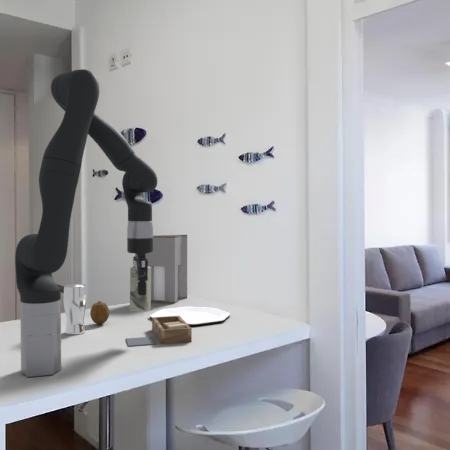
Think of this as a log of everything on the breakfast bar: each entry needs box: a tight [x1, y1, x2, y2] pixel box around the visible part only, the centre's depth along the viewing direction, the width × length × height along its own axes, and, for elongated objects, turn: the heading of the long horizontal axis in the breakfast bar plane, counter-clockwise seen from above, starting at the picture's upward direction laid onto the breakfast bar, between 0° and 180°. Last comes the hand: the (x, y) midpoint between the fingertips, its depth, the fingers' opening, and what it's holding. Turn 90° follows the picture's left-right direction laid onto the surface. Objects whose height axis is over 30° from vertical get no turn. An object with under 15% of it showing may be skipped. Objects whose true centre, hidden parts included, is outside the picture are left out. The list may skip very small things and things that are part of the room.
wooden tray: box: [151, 316, 193, 345], centre depth 154 cm, size 18×9×4 cm, turn 17°
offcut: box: [163, 321, 185, 329], centre depth 150 cm, size 5×5×2 cm
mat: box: [125, 336, 157, 347], centre depth 146 cm, size 8×8×1 cm
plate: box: [149, 306, 231, 326], centre depth 179 cm, size 28×28×2 cm
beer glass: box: [63, 283, 87, 336], centre depth 157 cm, size 7×7×15 cm
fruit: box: [90, 300, 110, 326], centre depth 168 cm, size 6×6×8 cm
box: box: [129, 266, 152, 313], centre depth 146 cm, size 5×4×13 cm
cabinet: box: [145, 234, 188, 305], centre depth 209 cm, size 21×10×28 cm, turn 122°
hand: (140, 292), depth 146 cm, fingers closed on box, 6 cm apart
